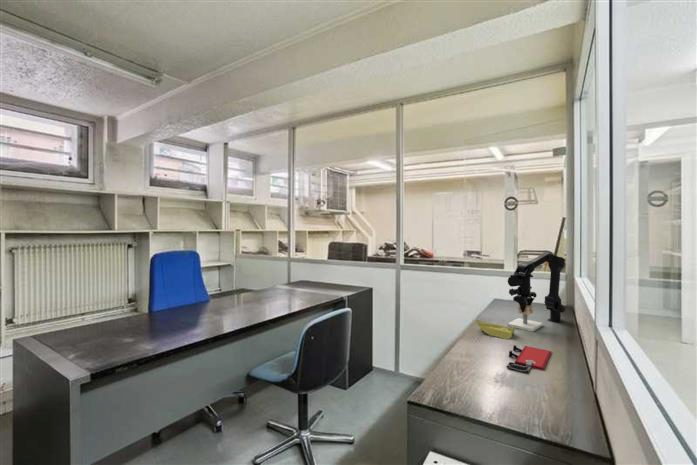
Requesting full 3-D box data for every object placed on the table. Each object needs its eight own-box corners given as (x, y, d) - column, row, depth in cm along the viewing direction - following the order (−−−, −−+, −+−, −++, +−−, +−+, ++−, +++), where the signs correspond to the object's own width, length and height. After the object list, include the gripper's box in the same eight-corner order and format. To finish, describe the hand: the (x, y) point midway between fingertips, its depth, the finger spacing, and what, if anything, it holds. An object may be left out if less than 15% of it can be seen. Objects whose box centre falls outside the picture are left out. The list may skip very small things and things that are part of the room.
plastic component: (515, 329, 188) (513, 326, 180) (513, 342, 186) (511, 340, 178) (478, 321, 199) (474, 317, 191) (476, 333, 197) (472, 330, 189)
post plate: (518, 320, 209) (518, 307, 209) (542, 325, 199) (542, 311, 198) (507, 326, 200) (507, 312, 199) (532, 331, 189) (532, 317, 189)
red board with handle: (501, 368, 146) (540, 378, 137) (501, 361, 146) (540, 371, 137) (517, 346, 170) (551, 354, 160) (517, 341, 169) (551, 348, 160)
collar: (522, 310, 203) (522, 304, 203) (532, 312, 198) (532, 305, 198) (517, 312, 199) (517, 306, 199) (528, 314, 195) (528, 308, 194)
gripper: (517, 280, 210) (517, 305, 211) (504, 285, 198) (504, 311, 199) (536, 283, 202) (536, 308, 203) (523, 288, 190) (524, 315, 190)
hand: (525, 311), depth 199 cm, fingers closed on collar, 6 cm apart
